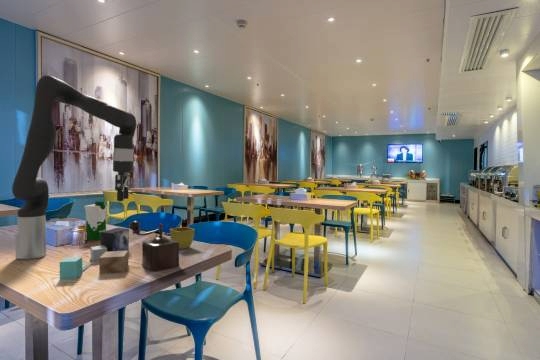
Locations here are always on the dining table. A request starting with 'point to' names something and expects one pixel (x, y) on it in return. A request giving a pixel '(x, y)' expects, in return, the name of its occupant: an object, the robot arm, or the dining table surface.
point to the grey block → (97, 252)
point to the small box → (115, 239)
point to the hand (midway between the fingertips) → (122, 199)
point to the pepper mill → (157, 250)
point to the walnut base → (113, 262)
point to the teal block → (71, 268)
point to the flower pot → (182, 236)
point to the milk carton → (95, 220)
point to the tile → (85, 266)
